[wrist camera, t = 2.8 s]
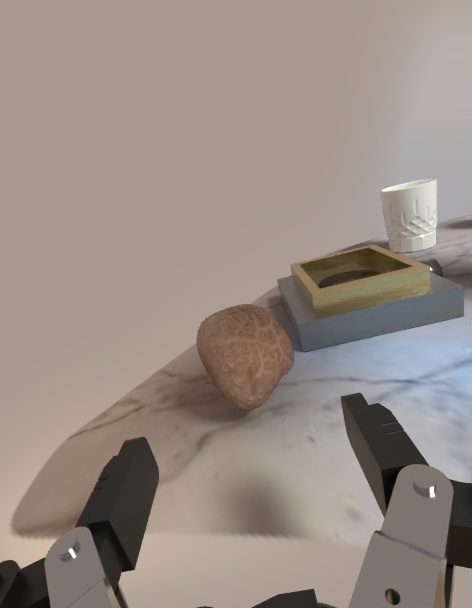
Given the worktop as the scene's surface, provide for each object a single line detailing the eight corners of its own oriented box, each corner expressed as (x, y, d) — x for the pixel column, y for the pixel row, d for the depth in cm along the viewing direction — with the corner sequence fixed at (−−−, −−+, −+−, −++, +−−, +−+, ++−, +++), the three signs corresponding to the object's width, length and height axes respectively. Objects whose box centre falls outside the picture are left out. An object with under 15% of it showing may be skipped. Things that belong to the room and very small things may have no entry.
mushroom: (283, 366, 30) (264, 285, 27) (325, 397, 24) (306, 299, 22) (208, 402, 27) (179, 317, 25) (236, 446, 22) (203, 342, 19)
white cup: (443, 238, 54) (441, 175, 51) (435, 252, 48) (431, 183, 45) (393, 243, 59) (387, 186, 56) (380, 256, 54) (373, 194, 50)
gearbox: (391, 265, 48) (388, 232, 46) (486, 310, 30) (486, 258, 28) (278, 293, 49) (271, 261, 47) (303, 352, 31) (293, 304, 29)
